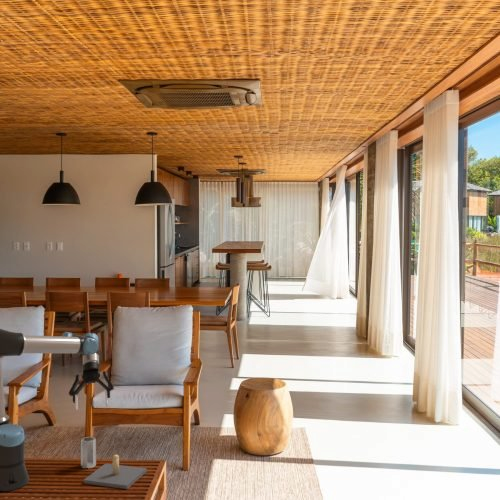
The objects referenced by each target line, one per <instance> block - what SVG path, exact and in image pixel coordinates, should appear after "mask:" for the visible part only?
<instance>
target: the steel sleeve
mask: <svg viewBox="0 0 500 500" xmlns="http://www.w3.org/2000/svg"><path fill="white" fill-rule="evenodd" d="M81 466H82V467H81ZM96 466H97V439H96V437H94V436H87V437H82V438H81V440H80V467H81V468H82V469H86V468H88V469H92V468H94V467H96Z"/></svg>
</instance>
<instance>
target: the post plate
mask: <svg viewBox="0 0 500 500" xmlns="http://www.w3.org/2000/svg"><path fill="white" fill-rule="evenodd" d="M147 470H148V469H147V467H139V466H129V465H121V464H120V456H119V454H114V455H113V456H112V463H104V464H103V465H101V466H100V467H99V468H97V469H96V470H94V472H92V473H91V474H90V475H88V476H87V477H85V478H84V479H83V484H85V485H93V486H99V487H107V488H109V487H110V488H117V489H122V490H123V489H125V490H128V489H129V488H130V487H131V486H132V485H133V484H135V482H137V481H138V480H139V479H141V477H142V476H143V475H144V474H146V473H147Z"/></svg>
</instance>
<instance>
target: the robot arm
mask: <svg viewBox="0 0 500 500" xmlns="http://www.w3.org/2000/svg"><path fill="white" fill-rule="evenodd" d="M99 346H100V342H99V336H98V334H96V333H94V332H93V333H91V332H89V333H86V334H85V333H84V335H80V334H76V333H72V332H68V331H65V332H63V333H62V335H60V336H59V335H58V336H57V335H55V336H54V335H27V334H26V335H25V334H24V333H23V332H14V331H9V330H5V329H3V328H0V492H9V491H14V490H18V489H20V488H21V489H22V488H23V487H25V486H26V485H27V484H28V483H29V482H30V476H29V473H28V470H27V467H26V464H25V431H24V428H23V426H21V425H19V424H17V423H16V424H14V423H11V422H10V421H11V420H10V416H9V415H8V414H7V413H6V406H5V405H6V404H5V393H4V391H5V390H4V380H3V379H4V378H3V363H2V360H3V358H4V357H16V356H17V357H18V356H19V357H20V356H22V355H23V354H77V355H78V354H81V355H82V375H79V374H76V375H75V380H74V382H73V384H72V385H71V388H70V390H69V391H68V395H69V396H70V397H72V403H73V404H74V408H75V410H76V411H78V410H79V396H78V395H79V394H80V391H82V389H83V388H85V386H87V385H90V384H95V383H97V384H98V385H100V386H101V388H103V389H104V390H105V391H104V392H105V393H104V395H105V397H104V398H105V406H106V407H107V406H109V399H110V398H111V392H112V391H113V390H115V389H114V388H115V387H114V385H113V384H112V382H111V381H110V379H109V377H108V376H107V373H106V371H105V370H103V371H102V372H100V350H99V349H100V347H99ZM101 377H102V378H104V380H105V381H106V383H107V384H106V383H105V382H104V381H103V380H101ZM81 379H82V381H81ZM80 381H81V382H80Z"/></svg>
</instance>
